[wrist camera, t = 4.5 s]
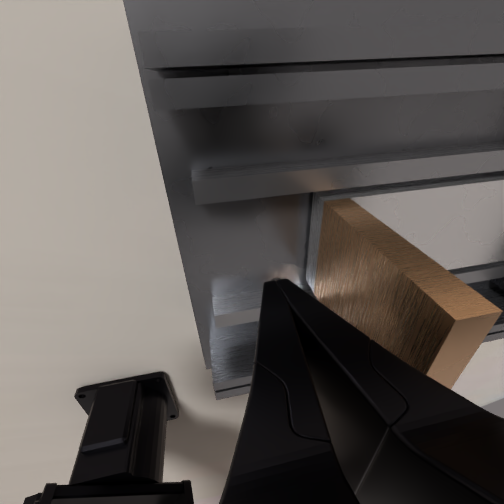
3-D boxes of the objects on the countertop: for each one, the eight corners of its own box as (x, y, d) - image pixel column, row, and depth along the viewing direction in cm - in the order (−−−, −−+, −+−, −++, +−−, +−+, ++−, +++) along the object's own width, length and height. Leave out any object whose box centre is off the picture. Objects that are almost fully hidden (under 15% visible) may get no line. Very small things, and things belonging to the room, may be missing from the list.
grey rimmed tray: (473, 271, 22) (576, 341, 16) (203, 318, 19) (209, 424, 13) (610, 12, 13) (944, -43, 7) (143, 20, 10) (79, -63, 4)
